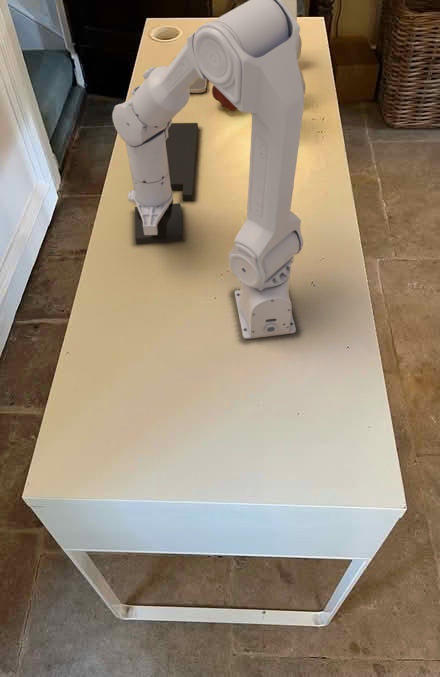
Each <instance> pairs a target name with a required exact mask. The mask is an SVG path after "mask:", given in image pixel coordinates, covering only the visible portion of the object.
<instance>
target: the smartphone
mask: <svg viewBox="0 0 440 677" xmlns="http://www.w3.org/2000/svg"><path fill="white" fill-rule="evenodd" d="M207 82H208V79H207V78H206V79H205V80H203V79H201V78H199V79H198V80H197V81H196V82H195V83H194V84H193V85H192V86H190V87H189V91H190V93H192V94H193V93H194V94H195V93H196V94H199V93H200V94H201V93H204V92H206V91H207V85H208V84H207Z"/></svg>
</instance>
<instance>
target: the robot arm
mask: <svg viewBox="0 0 440 677" xmlns="http://www.w3.org/2000/svg"><path fill="white" fill-rule="evenodd" d="M300 32H301V27H300V24H299V23H298V20H297V21H296V20H295V18H294V17H293V15H292V14H291V12H290V11H289V9H288V8H287V6H286V5H285V3H284V2H283V1H282V0H247V1H246V2H244V3H242V4H240V5H239V6H236V7H235V8H233V9H232V10H230V11H228V12H226V13H224V14H222V15H220V16H219V17H217V18H216V19H215V18H214V19H213V20H212V21H208V22H204V23H203V24H201V25H199V27H197V29H196V31H195V32H193V33H192V34H189V36H187V38H186V42H185V43H184V44H183V46H182V48H181V49H180V51H179V52H178V53H177V55H176V56H175V57H174V59H173V60H172V61H171V63H170V64H169V65H161V66H158V67H156V66H151V67H150V68H148V69H146V70H145V71H144V72H143V74H142V77H143V78H144V80H143V82H142V83H141V84H139V85H137V86H135V87H134V88H132V90H131V91H130V94H131V97H130V98H129V99H128V100H126V101H124V102H122V103H119V104H116V105H115V106H114V108H113V110H112V115H111V118H112V123H113V126H114V129H115V131H116V132H117V134H118V136H119V137H120V139H122V140H123V141H124V143H125V147H126V152H127V157H128V163H129V168H130V169H129V170H130V175H131V180H132V185H133V190H132V189H131V190H129V191H128V192H127V193H128V194H127V201H128V202H129V203H134V204H135V206H136V207H137V217H138V219H140V220H141V221H142V222H143V230H144V235H151V236H152V238H153V239H154V240H165V239H166V233H167V223H168V221H169V219H170V218H171V215H172V206H173V204H174V192H173V190H172V189H171V185H170V176H169V168H168V159H167V150H166V142H165V141H166V139H167V138H168V128H169V127H170V126H171V123H173V119H174V117H175V116H177V115H178V114H179V112H181V111H182V110H183V109H184V108H185V107H186V106H187V104H188V103H189V100H190V91H189V87H190V86H192V85H193V84H194V83H195V82H196V81H197V80H198V79H199V78H201V79H203V80H205V79H206V78H207V81H209V82H210V83H211V84H212V86H213V85H214V86H215V87H216V88H217V89H218V90H219V91H220V92H221V93H222V94H223V95H224V96H225V97H226V98H227V99H228V100H229V101H230V102H231V103H232V104H233V105H234V106H235V107H236V108H237V109H238V111H239V112H241V113H246V114H247V113H248V114H251V117H252V118H251V131H250V132H251V133H250V152H249V170H248V188H247V190H248V191H247V206H246V219H245V221H244V223H243V225H242V226H241V228H240V230H239V231H238V233H237V234H236V236H235V237H234V240H233V243H234V244H233V248H232V249H231V250H230V252H229V253H228V258H227V260H228V264H229V269H230V270H231V272H232V274H233V275H234V277H235V278H236V280H238V281H239V285H240V286H239V288H240V289H237V290H235V291H234V298H235V303H236V307H237V308H236V309H237V313H238V318H239V323H240V328H241V332H242V333H241V334H242V338H243V339H245V340H250V339H257V338H258V339H259V338H266V337H272V336H273V337H274V336H282V335H289V334H295V333H296V331H297V328H296V325H295V321H294V317H293V313H292V312H293V311H292V310H293V306H292V302H291V297H290V293H289V292H290V291H289V290H290V280H291V271H292V270H291V269H292V265H293V263H294V257H295V256H296V255H298V254H299V253H301V252H302V250H303V249H304V239H303V238H304V237H303V234H302V232H301V224H302V223H301V222H302V219H300V218H299V217H298V216H297V215H296V214H295V213H294V212H293V211H291V208H292V201H293V192H294V186H295V176H296V172H297V171H296V170H297V162H298V154H299V147H300V139H301V132H302V123H303V115H304V110H305V108H304V107H305V94H304V91H303V86H302V81H301V76H300V71H299V69H300V66H299V59H298V60H297V50H298V41H299V35H300Z"/></svg>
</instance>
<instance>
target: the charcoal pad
mask: <svg viewBox="0 0 440 677" xmlns="http://www.w3.org/2000/svg"><path fill="white" fill-rule="evenodd" d="M181 208H182V207H181V203H180V202H176V203H173V206H172V215H171V218H170V219H169V221H168V223H167V233H166V239H165V240H154V239H153V238H152V236H151V235H144V230H143V222H142V221H141V220H140V219H138V217H137V206H134V239H135V245H147V244H160V243H170V242H172V243H173V242H182V241H184V234H183V233H184V232H183V221H182V209H181Z"/></svg>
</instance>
